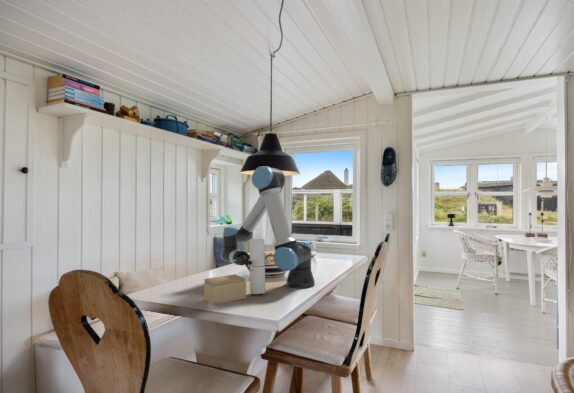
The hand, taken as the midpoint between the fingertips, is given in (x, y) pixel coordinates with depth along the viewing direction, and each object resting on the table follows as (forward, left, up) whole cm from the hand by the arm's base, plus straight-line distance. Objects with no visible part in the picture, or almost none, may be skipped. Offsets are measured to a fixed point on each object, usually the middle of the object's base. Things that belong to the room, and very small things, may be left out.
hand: (263, 262), depth 153 cm
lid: (+15, +9, -7) cm, 19 cm away
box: (+15, +9, -16) cm, 24 cm away
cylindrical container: (+4, -3, -15) cm, 16 cm away
